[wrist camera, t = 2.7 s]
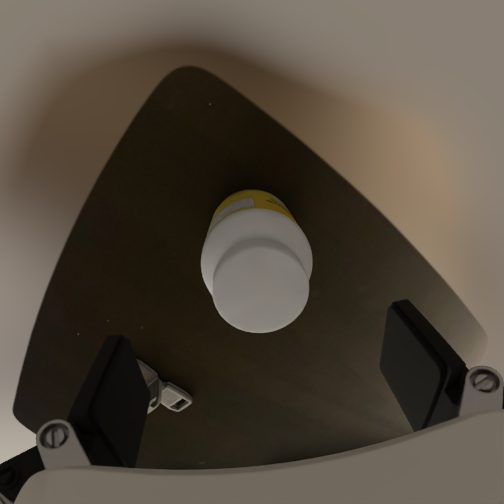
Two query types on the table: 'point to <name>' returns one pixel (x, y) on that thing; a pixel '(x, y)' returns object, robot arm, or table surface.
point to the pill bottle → (256, 262)
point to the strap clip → (163, 391)
